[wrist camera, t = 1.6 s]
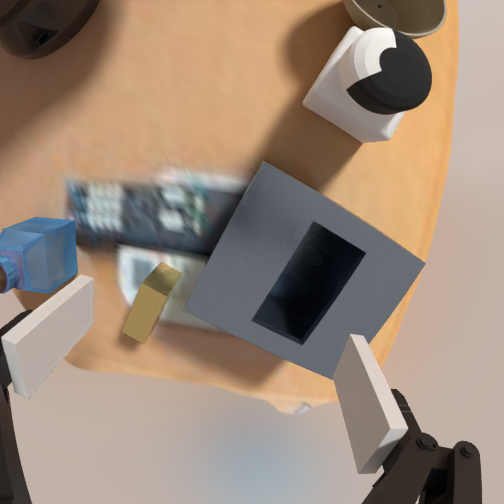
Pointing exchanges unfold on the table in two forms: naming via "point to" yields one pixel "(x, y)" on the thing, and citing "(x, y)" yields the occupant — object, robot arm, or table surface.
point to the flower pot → (398, 15)
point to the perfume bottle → (37, 255)
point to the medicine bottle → (371, 83)
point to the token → (151, 302)
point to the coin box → (300, 274)
